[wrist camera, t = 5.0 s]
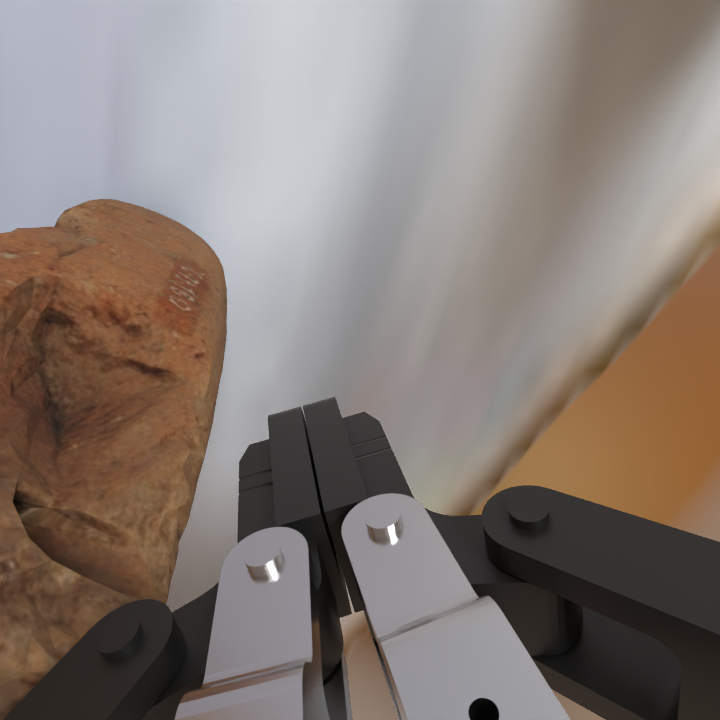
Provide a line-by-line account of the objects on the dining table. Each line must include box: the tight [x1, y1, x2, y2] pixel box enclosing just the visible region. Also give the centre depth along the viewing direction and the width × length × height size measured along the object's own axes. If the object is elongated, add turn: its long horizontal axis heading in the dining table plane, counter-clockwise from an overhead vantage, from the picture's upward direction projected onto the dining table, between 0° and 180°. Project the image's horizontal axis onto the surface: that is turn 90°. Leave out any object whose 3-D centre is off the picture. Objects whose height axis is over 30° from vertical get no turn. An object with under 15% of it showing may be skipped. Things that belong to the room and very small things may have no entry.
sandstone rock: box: [0, 199, 227, 720], centre depth 16 cm, size 11×8×20 cm
